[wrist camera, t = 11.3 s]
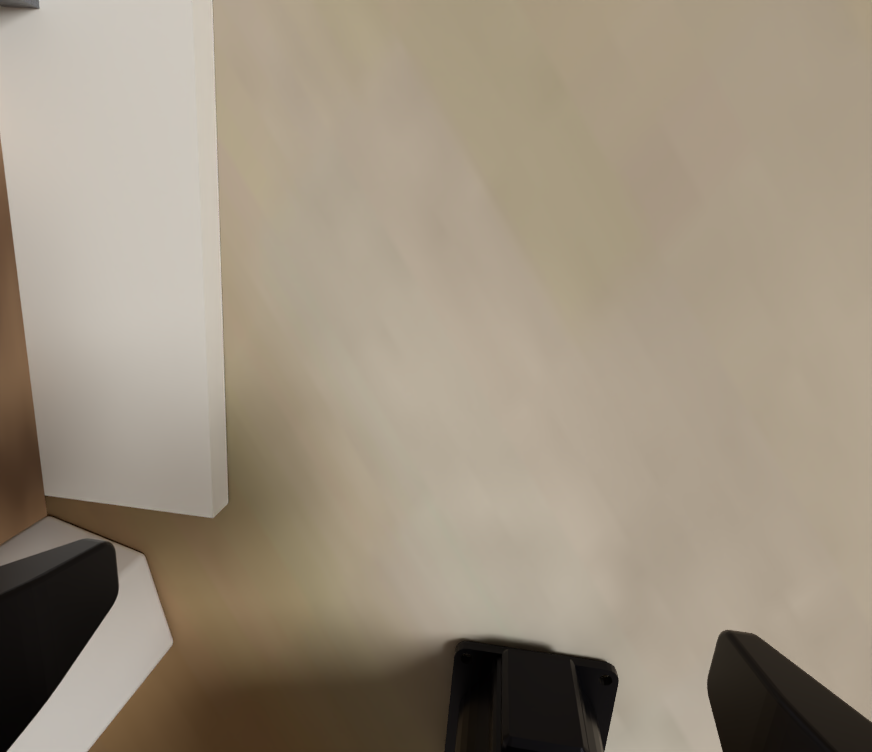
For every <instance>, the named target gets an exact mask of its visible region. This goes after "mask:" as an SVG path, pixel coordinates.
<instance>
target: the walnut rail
mask: <svg viewBox="0 0 872 752" xmlns="http://www.w3.org/2000/svg"><path fill="white" fill-rule="evenodd" d="M46 516H47V510H46V502H45V494H44V486H43V478H42V469H41V461H40V453H39V445H38V437H37V429H36V421H35V413H34V405H33V397H32V388H31V380H30V372H29V364H28V356H27V348H26V340H25V332H24V324H23V316H22V307H21V299H20V291H19V283H18V275H17V267H16V259H15V251H14V243H13V235H12V227H11V218H10V210H9V202H8V194H7V186H6V178H5V170H4V162H3V154H2V146H1V137H0V545H1V544H2V543H4V542H5V541H7V540H9V539H10V538H12V537H13V536H15V535H17V534H18V533H20V532H22V531H23V530H25V529H26V528H28V527H30V526H31V525H33V524H34V523H36V522H38V521H39V520H41V519H42V518H44V517H46Z"/></svg>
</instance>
